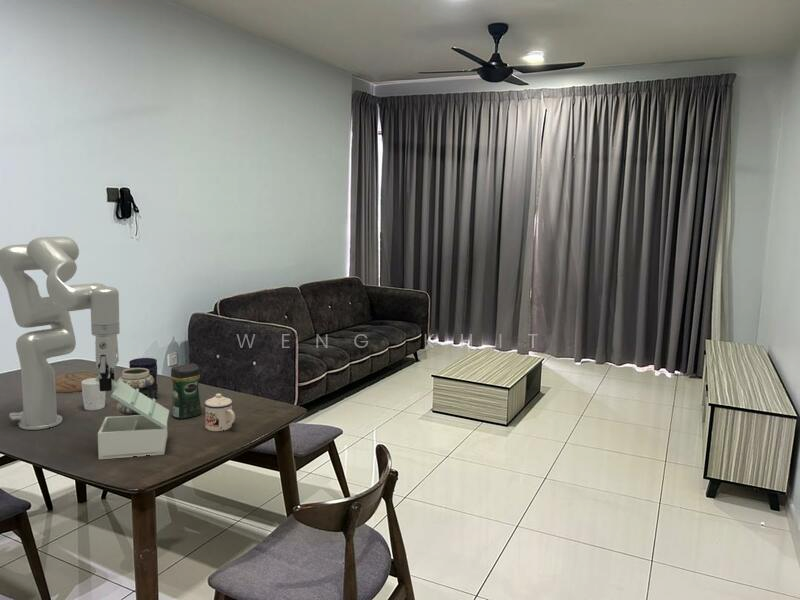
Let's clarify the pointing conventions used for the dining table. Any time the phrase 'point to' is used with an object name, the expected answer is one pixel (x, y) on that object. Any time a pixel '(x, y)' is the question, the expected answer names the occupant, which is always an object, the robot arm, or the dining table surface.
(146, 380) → the apothecary jar
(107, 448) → the tub
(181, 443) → the dining table surface
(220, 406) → the teacup with lid
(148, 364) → the storage jar
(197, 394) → the coffee jar
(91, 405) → the white cup
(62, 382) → the trivet
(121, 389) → the lid
